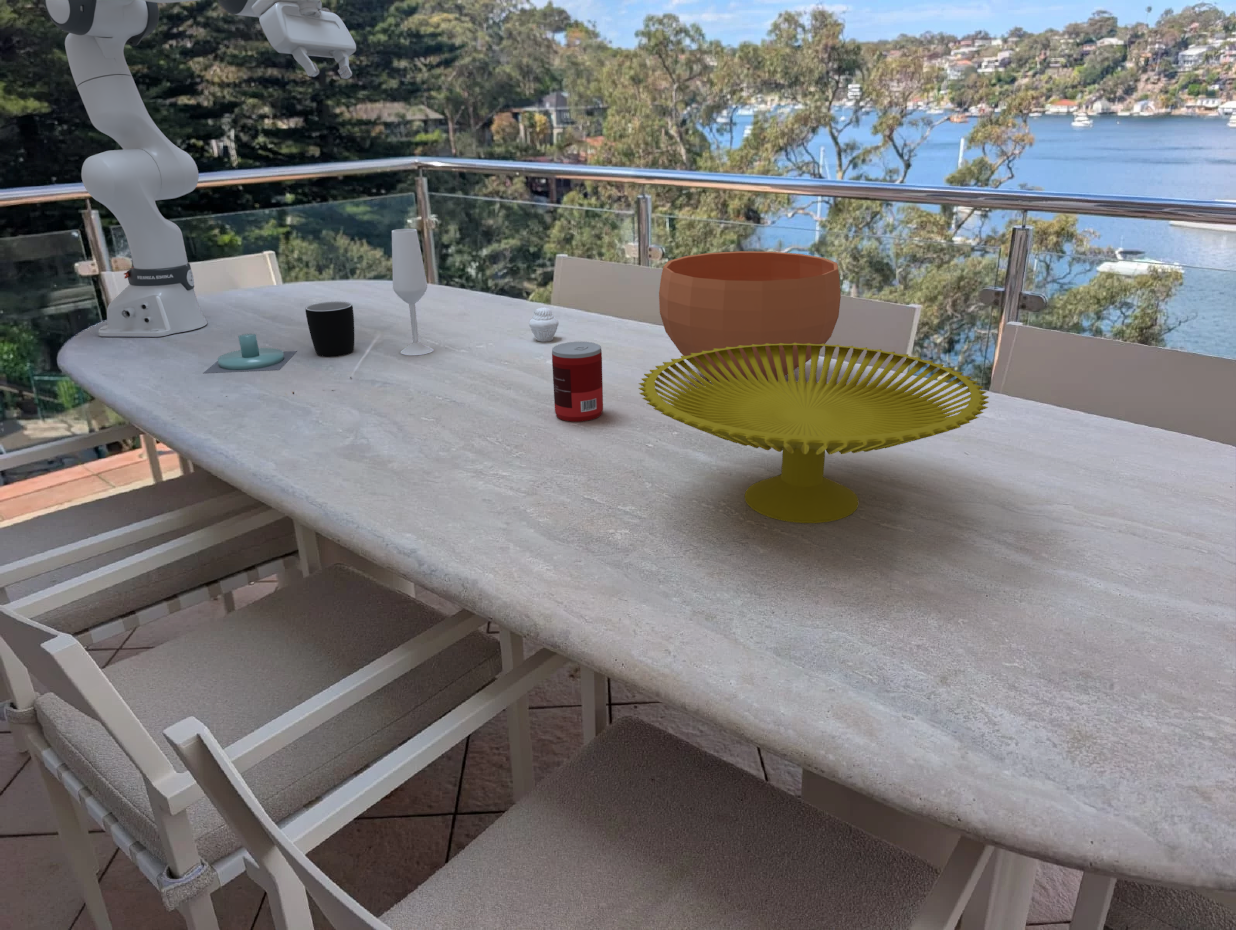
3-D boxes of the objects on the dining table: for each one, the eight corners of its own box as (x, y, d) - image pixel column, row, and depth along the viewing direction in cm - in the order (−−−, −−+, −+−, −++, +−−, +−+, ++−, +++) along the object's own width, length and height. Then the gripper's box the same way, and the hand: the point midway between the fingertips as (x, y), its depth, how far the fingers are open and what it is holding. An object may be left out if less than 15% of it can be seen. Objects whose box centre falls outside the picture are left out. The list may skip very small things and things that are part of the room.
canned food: (610, 408, 148) (608, 342, 144) (592, 424, 141) (590, 355, 137) (566, 404, 151) (563, 339, 147) (547, 420, 144) (543, 352, 140)
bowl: (835, 413, 144) (844, 283, 136) (647, 405, 149) (646, 280, 142) (832, 362, 171) (840, 251, 163) (674, 357, 177) (674, 250, 169)
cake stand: (627, 448, 131) (625, 347, 125) (901, 436, 133) (911, 336, 128) (657, 587, 94) (657, 451, 88) (1038, 567, 96) (1061, 433, 90)
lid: (210, 371, 171) (204, 344, 169) (229, 355, 182) (225, 329, 181) (275, 368, 172) (270, 341, 170) (290, 352, 183) (286, 327, 181)
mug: (367, 355, 183) (361, 305, 179) (327, 364, 177) (319, 313, 174) (336, 345, 191) (329, 297, 187) (296, 354, 185) (289, 304, 181)
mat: (203, 377, 171) (202, 373, 170) (226, 357, 184) (226, 353, 183) (279, 373, 172) (279, 369, 171) (297, 354, 185) (297, 350, 184)
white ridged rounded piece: (558, 343, 189) (556, 309, 186) (528, 343, 189) (526, 310, 186) (560, 336, 195) (558, 303, 192) (531, 336, 195) (529, 304, 192)
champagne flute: (437, 346, 188) (426, 227, 179) (428, 355, 182) (415, 232, 173) (406, 346, 189) (393, 228, 180) (395, 355, 183) (381, 232, 174)
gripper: (320, 18, 176) (354, 86, 178) (244, 7, 158) (282, 82, 161) (343, 0, 173) (377, 70, 175) (267, -14, 155) (306, 64, 158)
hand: (331, 76), depth 168 cm, fingers open, 8 cm apart
